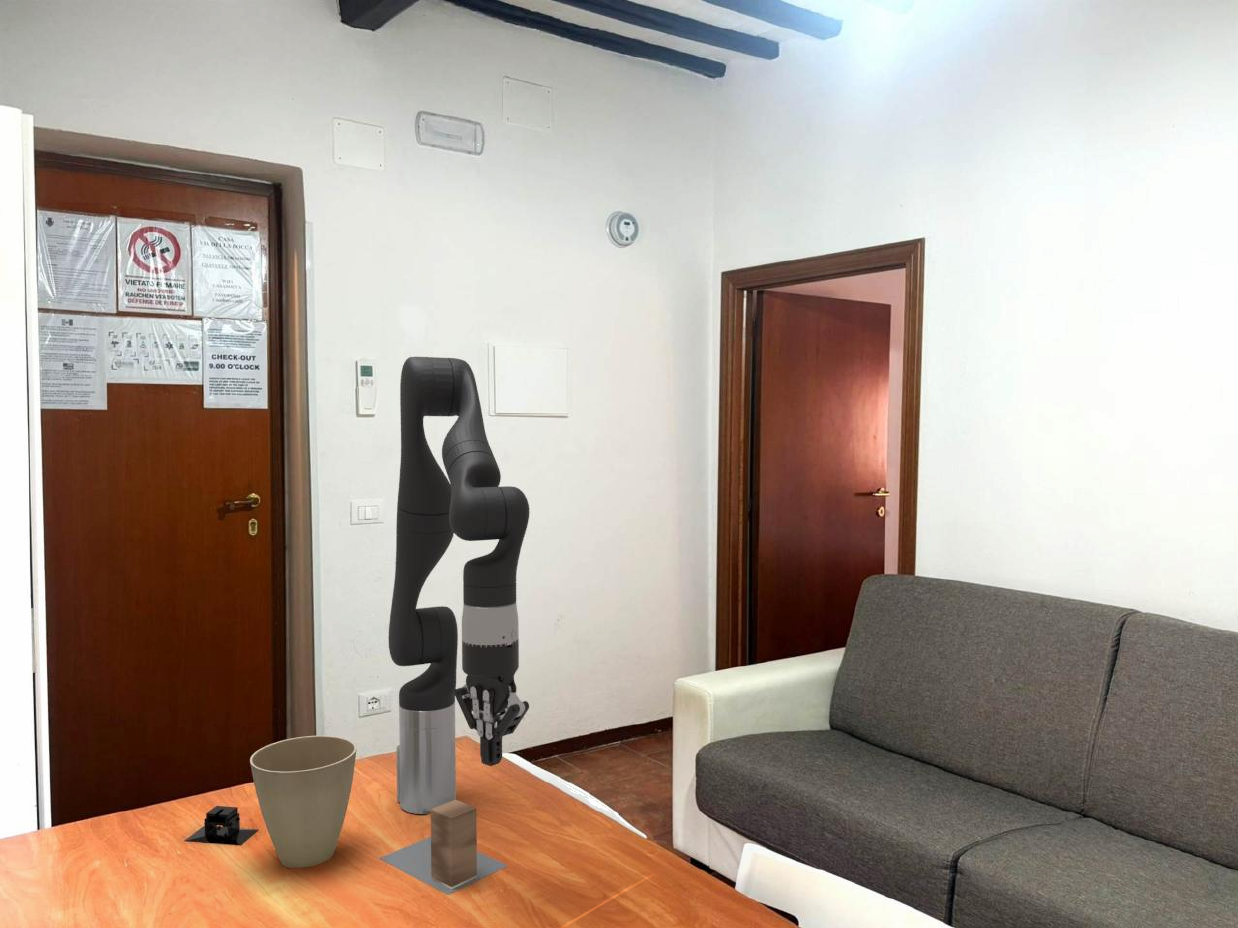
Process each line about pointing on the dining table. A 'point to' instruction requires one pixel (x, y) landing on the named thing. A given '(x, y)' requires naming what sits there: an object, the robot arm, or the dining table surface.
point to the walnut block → (453, 844)
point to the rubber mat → (419, 864)
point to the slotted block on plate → (222, 828)
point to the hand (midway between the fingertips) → (491, 763)
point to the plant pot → (304, 795)
